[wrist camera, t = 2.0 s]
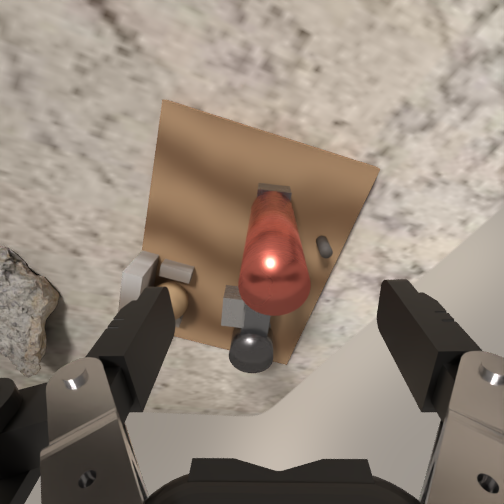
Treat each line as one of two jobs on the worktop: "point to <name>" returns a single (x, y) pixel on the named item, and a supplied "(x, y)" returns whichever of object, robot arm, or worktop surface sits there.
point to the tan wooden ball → (177, 298)
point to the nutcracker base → (237, 216)
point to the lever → (265, 279)
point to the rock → (23, 312)
